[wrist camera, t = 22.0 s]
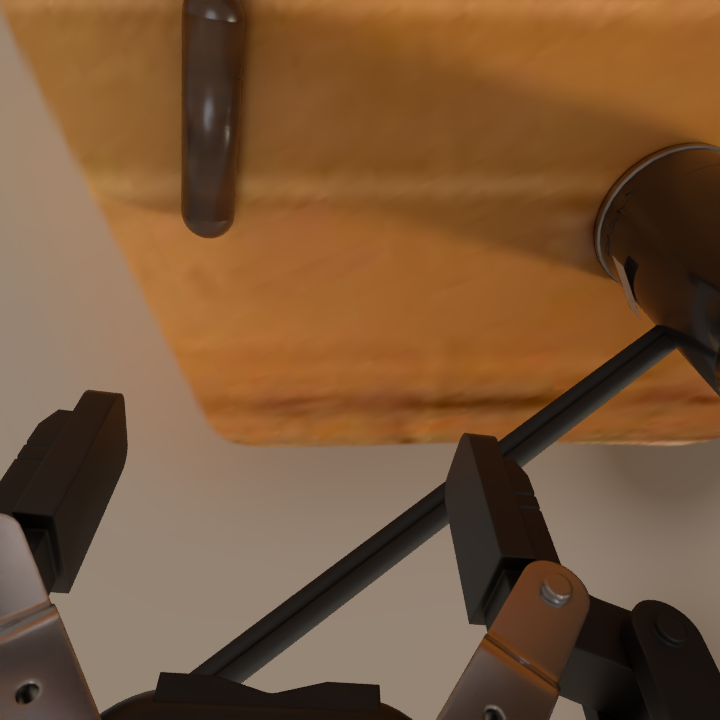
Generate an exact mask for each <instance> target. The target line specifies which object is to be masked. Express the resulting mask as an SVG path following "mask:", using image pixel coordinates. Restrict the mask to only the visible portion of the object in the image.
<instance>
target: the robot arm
mask: <svg viewBox="0 0 720 720" xmlns="http://www.w3.org/2000/svg"><path fill="white" fill-rule="evenodd" d="M594 243H595V250H596V253H597V257H598V259H599V261H600V263H601V265H602V266H603V268H604V269H605V270H606V272H607V273H608V274H609V275H610V276H611V277H612V278H613V279H614V280H615V281H617V282H618V283H619V284H620V285H621V286H622V287H623V288H624V291H625V294H626V297H627V300H628V303H629V306H630V308H631V309H632V310H633V312H634V313H635V314H636V315H637V316H638V317H639V319H640V316H639V313H638V310H637V307H636V304H635V302H636V303H637V304H638V305H639V307H640V308H641V309H642V310H643V311H644V312H645V313H646V314H647V315H648V317H649V318H650V319H651V320H652V321H653V322H654V323H655V324H656V326H655V327H654V328H652V329H651V330H650V331H648V332H647V333H646V334H644V335H643V336H641V337H640V338H639V339H637V340H636V341H635V342H633V343H632V344H631V345H629V346H628V347H626V348H625V349H624V350H622V351H621V352H620V353H618V354H617V355H616V356H614V357H613V358H612V359H610V360H609V361H607V362H606V363H605V364H603V365H602V366H601V367H599V368H598V369H597V370H595V371H594V372H592V373H591V374H590V375H588V376H587V377H586V378H584V379H583V380H582V381H580V382H579V383H578V384H576V385H575V386H573V387H572V388H571V389H569V390H568V391H567V392H565V393H564V394H563V395H561V396H560V397H558V398H557V399H556V400H554V401H553V402H552V403H550V404H549V405H548V406H546V407H545V408H543V409H542V410H541V411H539V412H538V413H537V414H535V415H534V416H533V417H531V418H530V419H529V420H527V421H526V422H524V423H523V424H522V425H520V426H519V427H518V428H516V429H515V430H514V431H512V432H511V433H510V434H508V435H507V436H506V437H504V438H503V439H502V440H500V441H499V442H498V441H497V439H496V437H494V436H487V435H478V434H469V433H464V434H463V435H462V437H461V439H460V441H459V444H458V447H457V450H456V453H455V456H454V459H453V461H452V464H451V467H450V470H449V473H448V476H447V480H446V482H444V483H443V484H441V485H440V486H439V487H437V488H436V489H435V490H433V491H432V492H431V493H429V494H428V495H427V496H425V497H424V498H423V499H421V500H420V501H419V502H418V503H416V504H415V505H414V506H412V507H411V508H409V509H408V510H407V511H405V512H404V513H403V514H402V515H400V516H399V517H397V518H396V519H395V520H393V521H392V522H391V523H389V524H388V525H387V526H385V527H384V528H383V529H381V530H380V531H379V532H377V533H376V534H375V535H373V536H372V537H371V538H369V539H368V540H367V541H365V542H364V543H363V544H361V545H360V546H359V547H357V548H356V549H355V550H353V551H352V552H350V553H349V554H348V555H347V556H345V557H344V558H343V559H341V560H340V561H338V562H337V563H336V564H334V565H333V566H332V567H330V568H329V569H328V570H326V571H325V572H324V573H322V574H321V575H320V576H318V577H317V578H316V579H314V580H313V581H312V582H310V583H309V584H308V585H306V586H305V587H304V588H302V589H301V590H300V591H298V592H297V593H296V594H295V595H293V596H292V597H290V598H289V599H288V600H286V601H285V602H284V603H282V604H281V605H280V606H278V607H277V608H276V609H274V610H273V611H272V612H270V613H269V614H268V615H266V616H265V617H264V618H262V619H261V620H260V621H258V622H257V623H256V624H254V625H253V626H252V627H250V628H249V629H248V630H246V631H245V632H244V633H242V634H241V635H240V636H238V637H237V638H236V639H234V640H233V641H232V642H230V643H229V644H228V645H226V646H225V647H224V648H222V649H221V650H220V651H218V652H217V653H216V654H215V655H213V656H212V657H211V658H209V659H208V660H207V661H205V662H204V663H203V664H201V665H200V666H199V667H198V668H196V669H195V670H193V671H192V672H191V673H189V674H183V673H167V672H161V673H160V676H159V680H158V683H157V688H156V690H152V691H147V692H144V693H141V694H138V695H135V696H132V697H130V698H128V699H125V700H123V701H121V702H119V703H117V704H115V705H114V706H112V707H110V708H109V709H107V710H105V711H104V712H102V713H101V714H99V712H98V709H97V707H96V704H95V702H94V699H93V697H92V695H91V692H90V689H89V687H88V684H87V682H86V679H85V677H84V674H83V672H82V670H81V667H80V665H79V662H78V659H77V657H76V654H75V652H74V649H73V647H72V644H71V642H70V639H69V637H68V634H67V632H66V629H65V627H64V624H63V622H62V619H61V617H60V614H59V612H58V610H57V608H56V606H55V604H52V603H51V601H50V599H49V594H50V592H56V593H69V592H70V590H71V587H72V585H73V583H74V580H75V578H76V576H77V574H78V571H79V569H80V566H81V565H82V562H83V560H84V558H85V555H86V553H87V551H88V548H89V546H90V544H91V541H92V539H93V537H94V535H95V532H96V530H97V528H98V526H99V523H100V521H101V518H102V516H103V514H104V512H105V510H106V507H107V505H108V503H109V500H110V498H111V496H112V494H113V491H114V489H115V487H116V484H117V482H118V480H119V478H120V475H121V473H122V470H123V468H124V465H125V461H126V456H127V446H128V444H127V429H126V416H125V402H124V397H123V395H122V394H120V393H111V392H103V391H94V390H87V391H85V392H84V394H83V395H82V397H81V399H80V400H79V402H78V404H77V405H76V407H75V408H74V410H73V411H67V410H58V411H56V412H55V413H53V414H52V415H50V416H49V417H48V418H46V419H45V420H43V421H42V422H40V423H39V424H38V426H37V427H36V429H35V430H34V432H33V433H32V435H31V436H30V437H29V439H28V441H27V444H26V445H24V446H23V448H22V450H21V451H20V453H19V454H18V458H17V459H15V460H14V462H13V463H12V465H11V466H10V467H9V469H8V470H7V472H6V473H5V475H4V476H3V478H2V480H1V481H0V720H412V719H411V718H410V717H408V716H406V715H405V714H404V713H402V712H400V711H399V710H397V709H395V708H393V707H391V706H389V705H386V704H384V703H381V702H380V686H379V685H372V684H355V683H338V682H324V683H320V684H315V685H311V686H307V687H302V688H297V689H292V690H288V691H283V692H279V693H266V692H263V691H260V690H257V689H254V688H251V687H248V686H245V685H243V684H241V683H242V682H244V681H245V680H246V679H247V678H248V677H250V676H251V675H253V674H254V673H255V672H257V671H258V670H259V669H260V668H262V667H263V666H264V665H266V664H267V663H268V662H269V661H271V660H272V659H274V658H275V657H276V656H277V655H279V654H280V653H281V652H283V651H284V650H285V649H287V648H288V647H289V646H290V645H292V644H293V643H294V642H296V641H297V640H298V639H300V638H301V637H302V636H304V635H305V634H306V633H307V632H309V631H310V630H311V629H313V628H314V627H315V626H317V625H318V624H319V623H320V622H322V621H323V620H324V619H326V618H327V617H328V616H329V615H331V614H332V613H333V612H335V611H336V610H337V609H338V608H340V607H341V606H342V605H344V604H345V603H346V602H348V601H349V600H350V599H351V598H353V597H354V596H355V595H357V594H358V593H359V592H361V591H362V590H363V589H364V588H366V587H367V586H368V585H369V584H371V583H372V582H374V581H375V580H376V579H377V578H379V577H380V576H381V575H383V574H384V573H385V572H387V571H388V570H389V569H390V568H392V567H393V566H394V565H396V564H397V563H398V562H399V561H401V560H402V559H403V558H404V557H406V556H407V555H409V554H410V553H411V552H412V551H414V550H415V549H416V548H418V547H419V546H420V545H421V544H423V543H424V542H425V541H427V540H428V539H429V538H431V537H432V536H433V535H434V534H436V533H437V532H438V531H440V530H441V529H442V528H444V527H445V526H446V525H447V524H450V529H451V534H452V538H453V544H454V549H455V554H456V559H457V564H458V569H459V574H460V579H461V585H462V589H463V594H464V600H465V605H466V610H467V615H468V620H469V624H475V625H486V628H487V632H488V633H487V634H486V635H485V636H484V638H483V640H482V641H481V643H480V644H479V646H478V648H477V650H476V651H475V653H474V655H473V656H472V658H471V660H470V662H469V664H468V665H467V667H466V669H465V670H464V672H463V674H462V675H461V677H460V679H459V681H458V682H457V684H456V686H455V688H454V689H453V691H452V693H451V694H450V696H449V698H448V700H447V702H446V703H445V705H444V707H443V708H442V710H441V712H440V714H439V715H438V717H437V719H436V720H549V719H550V717H551V714H552V712H553V709H554V707H555V704H556V702H557V699H558V696H559V695H560V696H562V697H564V698H567V699H569V700H572V701H574V702H577V703H579V704H582V706H583V710H584V714H585V717H586V720H720V672H719V670H718V668H717V666H716V664H715V662H714V660H713V658H712V656H711V654H710V652H709V650H708V648H707V646H706V644H705V642H704V640H703V637H702V636H701V634H700V632H699V630H698V629H697V628H696V626H695V625H694V624H693V623H692V622H691V621H690V619H688V618H687V617H686V616H685V615H684V614H683V613H681V612H680V611H679V610H677V609H675V608H674V607H672V606H670V605H668V604H666V603H663V602H660V601H656V600H644V601H642V602H639V603H638V604H637V605H636V606H635V607H634V609H633V610H632V611H629V610H626V609H624V608H621V607H618V606H615V605H613V604H610V603H608V602H605V601H602V600H600V599H597V598H595V597H593V596H591V595H589V594H588V591H587V589H586V587H585V585H584V584H583V583H582V581H581V580H580V579H579V578H578V577H577V576H576V575H575V574H574V573H573V572H572V571H570V570H569V569H567V568H566V567H564V566H562V565H561V563H560V561H559V558H558V555H557V553H556V550H555V547H554V545H553V542H552V539H551V536H550V534H549V531H548V528H547V526H546V523H545V520H544V518H543V515H542V512H541V511H540V510H539V509H540V507H539V504H538V502H537V499H536V497H534V491H533V488H532V485H531V483H530V480H529V477H528V475H527V474H526V473H525V472H524V471H523V469H522V468H521V467H523V466H524V465H525V464H526V463H528V462H529V461H530V460H532V459H533V458H534V457H535V456H537V455H538V454H539V453H541V452H542V451H543V450H545V449H546V448H547V447H548V446H550V445H551V444H552V443H554V442H555V441H556V440H558V439H559V438H560V437H562V436H563V435H564V434H565V433H567V432H568V431H569V430H571V429H572V428H573V427H574V426H576V425H577V424H578V423H580V422H581V421H582V420H584V419H585V418H586V417H587V416H589V415H590V414H591V413H593V412H594V411H595V410H597V409H598V408H599V407H600V406H602V405H603V404H604V403H606V402H607V401H608V400H610V399H611V398H612V397H613V396H615V395H616V394H617V393H619V392H620V391H621V390H622V389H624V388H625V387H626V386H628V385H629V384H630V383H632V382H633V381H634V380H635V379H637V378H638V377H639V376H641V375H642V374H643V373H645V372H646V371H647V370H648V369H650V368H651V367H652V366H654V365H655V364H656V363H657V362H659V361H660V360H661V359H663V358H664V357H665V356H667V355H668V354H669V353H670V352H672V351H673V350H674V349H676V348H677V349H678V350H679V351H680V352H681V354H682V355H683V356H684V357H685V358H686V359H687V360H688V361H689V363H690V364H691V365H692V366H693V367H694V368H695V369H696V370H697V372H698V373H699V374H700V375H701V376H702V377H703V378H704V379H705V381H706V382H707V383H708V384H709V385H710V386H711V387H712V388H713V390H714V391H715V392H716V393H717V394H718V395H719V396H720V148H719V147H716V146H713V145H709V144H703V143H688V144H681V145H676V146H672V147H668V148H666V149H663V150H660V151H658V152H656V153H654V154H652V155H650V156H648V157H647V158H645V159H643V160H642V161H640V162H639V163H637V164H636V165H635V166H633V167H632V168H631V169H630V170H629V171H628V172H626V173H625V174H624V175H623V176H622V177H621V178H620V180H619V181H618V182H617V183H616V184H615V185H614V187H613V188H612V189H611V191H610V192H609V194H608V195H607V197H606V199H605V201H604V202H603V204H602V207H601V209H600V211H599V214H598V217H597V221H596V225H595V233H594ZM640 320H641V319H640Z"/></svg>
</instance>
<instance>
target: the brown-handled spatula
mask: <svg viewBox="0 0 720 720" xmlns="http://www.w3.org/2000/svg"><path fill="white" fill-rule="evenodd" d="M244 32H245V14H244V9H243V6H242V3H241V1H240V0H183V4H182V187H181V211H182V217H183V220H184V222H185V224H186V226H187V227H188V228H189V230H190V231H192V232H193V233H194V234H196V235H198V236H200V237H203V238H216V237H219V236H221V235H223V234H225V233H226V232H227V231H228V230H229V228H230V227H231V225H232V223H233V221H234V215H235V197H236V178H237V160H238V142H239V123H240V105H241V87H242V68H243V50H244Z"/></svg>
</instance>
